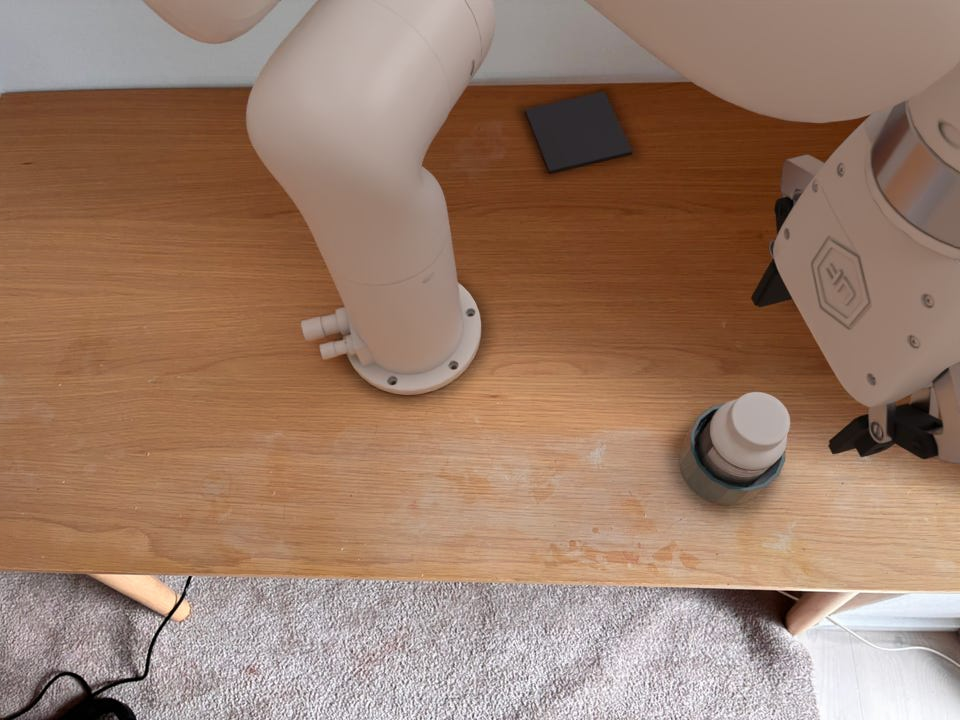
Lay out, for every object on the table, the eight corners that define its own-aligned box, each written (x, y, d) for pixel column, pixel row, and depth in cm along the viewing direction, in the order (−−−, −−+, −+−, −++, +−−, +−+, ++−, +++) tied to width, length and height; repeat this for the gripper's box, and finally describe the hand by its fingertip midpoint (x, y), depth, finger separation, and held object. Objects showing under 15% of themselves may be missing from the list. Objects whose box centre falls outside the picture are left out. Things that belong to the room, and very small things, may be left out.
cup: (698, 515, 55) (712, 501, 51) (665, 435, 58) (676, 415, 54) (780, 493, 55) (801, 476, 51) (744, 414, 58) (760, 393, 54)
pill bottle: (710, 418, 58) (744, 368, 49) (769, 454, 56) (816, 409, 47) (677, 468, 56) (707, 426, 47) (737, 507, 54) (780, 470, 45)
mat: (549, 173, 71) (549, 170, 70) (524, 112, 75) (524, 109, 74) (632, 153, 71) (632, 151, 71) (603, 93, 75) (604, 91, 75)
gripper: (784, 23, 28) (693, 263, 43) (1047, 397, 20) (823, 528, 36) (954, -17, 28) (805, 234, 44) (1274, 334, 21) (957, 490, 36)
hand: (813, 366), depth 40 cm, fingers open, 9 cm apart
